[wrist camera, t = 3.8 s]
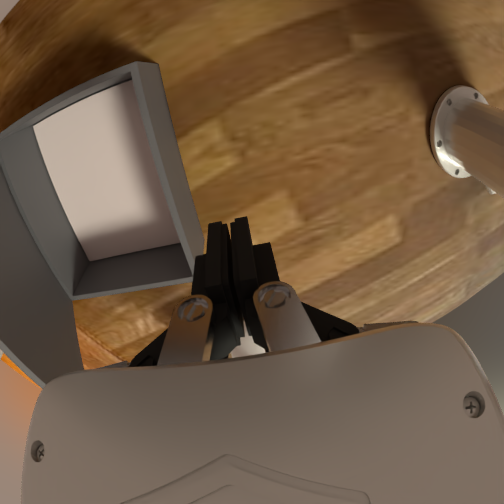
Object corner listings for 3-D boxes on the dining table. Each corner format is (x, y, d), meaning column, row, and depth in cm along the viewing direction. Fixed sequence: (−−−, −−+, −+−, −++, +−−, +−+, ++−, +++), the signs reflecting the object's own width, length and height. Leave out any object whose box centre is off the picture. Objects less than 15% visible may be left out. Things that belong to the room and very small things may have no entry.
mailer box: (158, 63, 20) (136, 61, 15) (204, 239, 32) (200, 280, 27) (30, 121, 21) (-8, 139, 15) (90, 262, 33) (71, 300, 27)
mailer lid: (-95, 166, 3) (-102, 174, 3) (99, 424, 15) (93, 427, 15) (-9, 137, 15) (-13, 140, 15) (72, 301, 27) (68, 304, 27)
